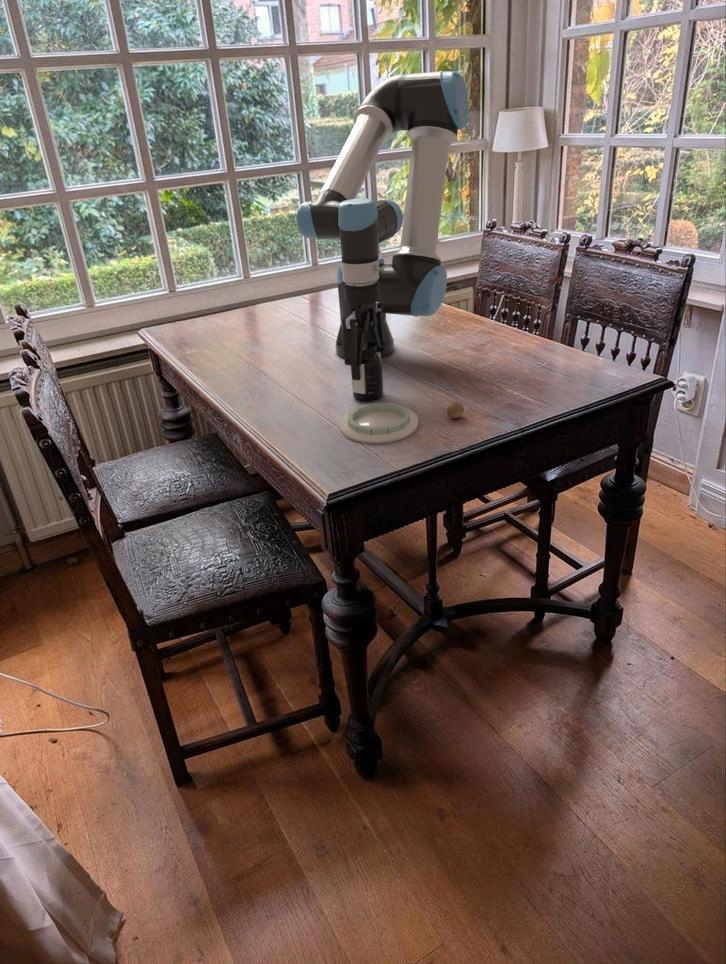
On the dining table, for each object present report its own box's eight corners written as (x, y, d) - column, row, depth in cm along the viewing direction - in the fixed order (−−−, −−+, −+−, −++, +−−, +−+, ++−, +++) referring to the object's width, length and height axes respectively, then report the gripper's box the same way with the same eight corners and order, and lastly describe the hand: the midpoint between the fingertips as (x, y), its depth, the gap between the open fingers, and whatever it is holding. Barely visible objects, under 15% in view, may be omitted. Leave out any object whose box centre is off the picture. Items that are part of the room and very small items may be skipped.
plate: (325, 434, 137) (324, 425, 135) (363, 404, 148) (362, 394, 147) (396, 449, 130) (396, 439, 128) (430, 415, 141) (430, 406, 140)
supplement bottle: (351, 392, 155) (348, 341, 149) (381, 389, 155) (379, 338, 149) (354, 404, 149) (350, 351, 143) (385, 401, 149) (382, 349, 143)
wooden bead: (443, 419, 139) (444, 404, 138) (450, 413, 142) (450, 397, 140) (459, 422, 138) (460, 406, 136) (466, 415, 140) (466, 400, 139)
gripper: (353, 295, 130) (360, 406, 142) (399, 270, 144) (402, 372, 156) (320, 292, 133) (330, 400, 145) (368, 268, 148) (373, 368, 160)
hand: (367, 385), depth 151 cm, fingers closed on supplement bottle, 7 cm apart
